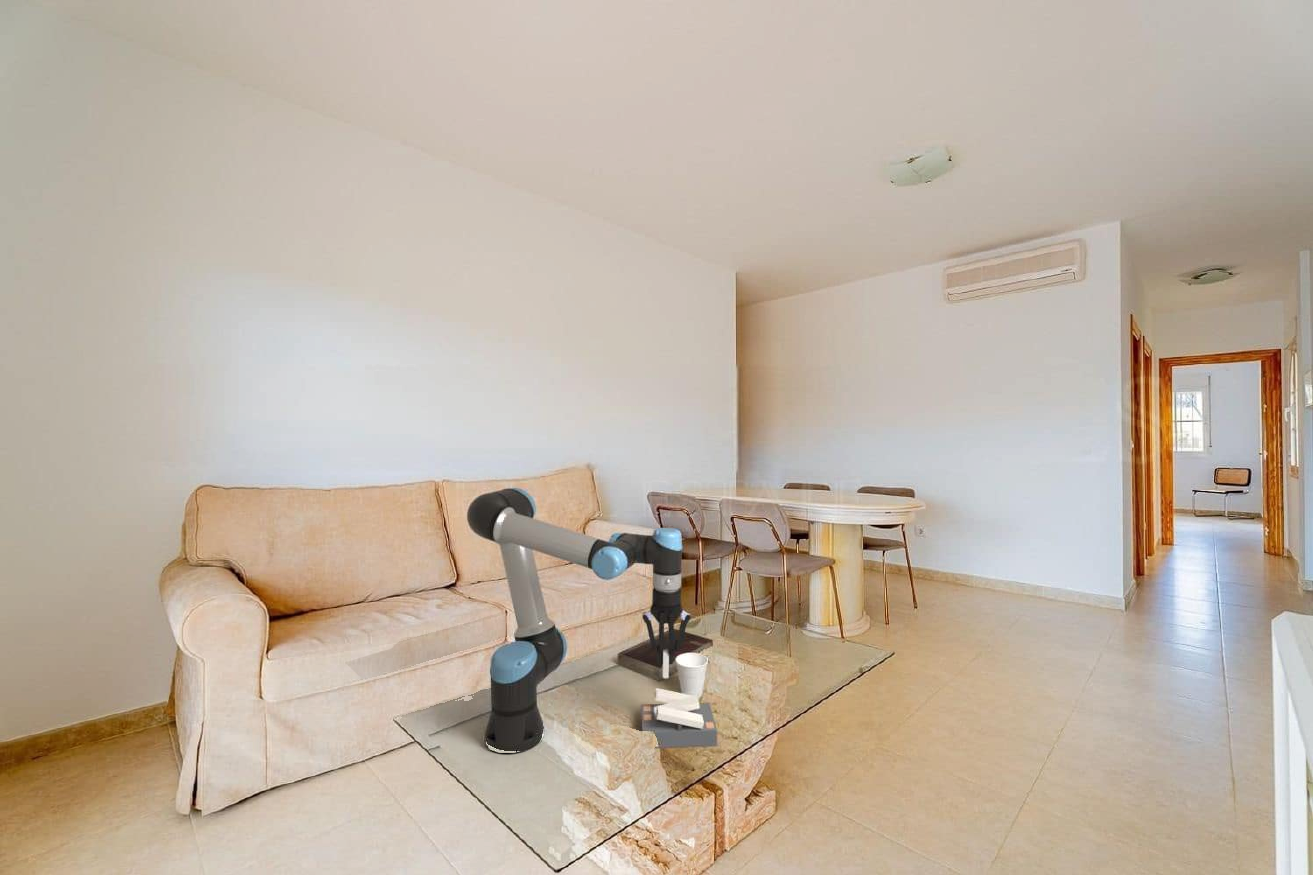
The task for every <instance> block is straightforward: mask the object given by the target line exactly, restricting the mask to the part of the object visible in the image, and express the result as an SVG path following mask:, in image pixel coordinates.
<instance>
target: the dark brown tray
mask: <svg viewBox="0 0 1313 875" xmlns="http://www.w3.org/2000/svg"><path fill="white" fill-rule="evenodd" d="M678 631H679V629H676V628H674V643H673V645H674V644H675V643H676V639H677V635H678ZM654 637H655V641H656V644H657V645H659V634H657V635H656V636H655V635H654ZM713 641H714V640H713V639H711V638H707V637H705V636H704V637H703V636H700V635H697V634H695V633H694V634H693V633H690V632H687V631H685V633H684V636H683V640H682V644H681V648H680V650H679V651H675V652H674V653H673V664H669V678H670V677H672V676H673V675H676V673H678V669H677V663H676V661H675V659H676V657H677V656H679V655H681V654H684V653H700V652H701V651H703V650H704V649H707V648H709V647H711V646H714V642H713ZM664 650H668V630H666V631H664ZM617 665H618V666H619V667H622V668H624V669H626V670H629V671H632V672H634V673H635V674H636V673H637V674H639V675H642V676H644V677H646V678H648V679H651V680H653V681H656V682H659V683H661V682H662V681H664V680H666V679H667V678H663V675H662V666H663V665H659V661H658V652H657V651H653V650H652V646H651V642H650V638H648V639H646V640H644V641H642V642H639V643H637V644H636V645H633V646H631V647H629V648H627V649H625V650H623V651H620V652H618V654H617Z"/></svg>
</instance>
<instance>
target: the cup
mask: <svg viewBox="0 0 1313 875" xmlns="http://www.w3.org/2000/svg"><path fill="white" fill-rule="evenodd" d="M675 661H676V663H677V669H678V672H677V673H678V678H679V686H680V693H682V694H687V695H691V696H696V695H697V697H698V700H699V699H701V697H702V696H703V691H704V685H705V679H706V673H707V666H708V663H709V658H708V657H707V656H704V655H702V654H698V653H684V654H681V655H679V656H677V657H676V659H675Z"/></svg>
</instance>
